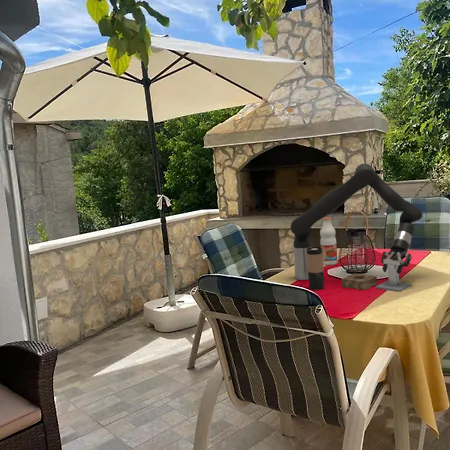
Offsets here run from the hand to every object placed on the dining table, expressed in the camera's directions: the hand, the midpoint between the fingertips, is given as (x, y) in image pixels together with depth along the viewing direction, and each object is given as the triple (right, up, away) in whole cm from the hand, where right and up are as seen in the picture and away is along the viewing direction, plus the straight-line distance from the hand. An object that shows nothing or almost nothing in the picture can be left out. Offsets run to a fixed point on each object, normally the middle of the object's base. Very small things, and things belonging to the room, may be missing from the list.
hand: (391, 272), depth 206 cm
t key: (+2, -6, +3) cm, 7 cm away
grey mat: (+2, -7, +2) cm, 8 cm away
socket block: (-12, -8, +9) cm, 17 cm away
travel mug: (-32, -9, +11) cm, 36 cm away
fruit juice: (-15, -1, +60) cm, 62 cm away
